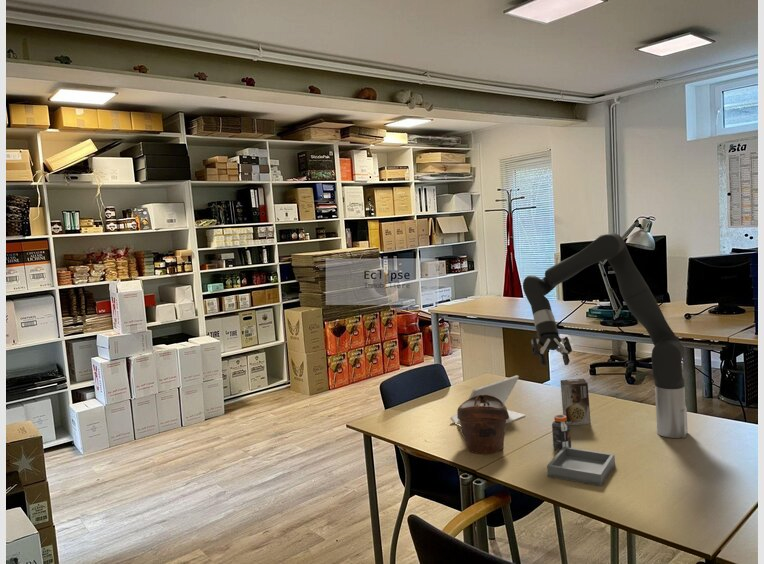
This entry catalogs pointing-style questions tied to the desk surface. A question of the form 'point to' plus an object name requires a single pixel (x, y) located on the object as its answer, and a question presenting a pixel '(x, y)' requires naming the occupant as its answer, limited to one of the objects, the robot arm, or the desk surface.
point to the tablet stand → (496, 395)
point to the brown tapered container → (483, 423)
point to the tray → (581, 465)
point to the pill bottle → (561, 432)
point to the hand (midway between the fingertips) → (555, 364)
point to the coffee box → (575, 401)
